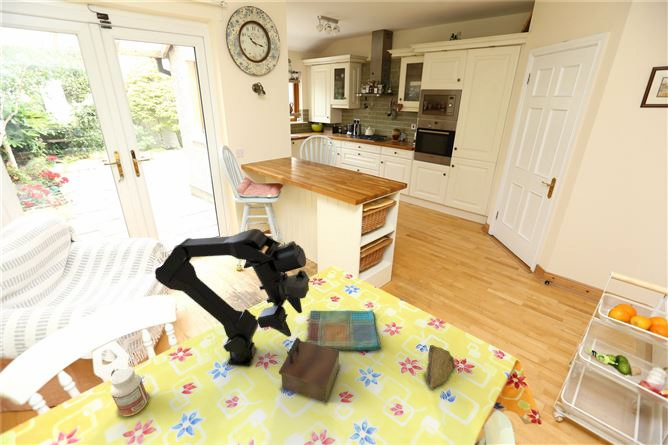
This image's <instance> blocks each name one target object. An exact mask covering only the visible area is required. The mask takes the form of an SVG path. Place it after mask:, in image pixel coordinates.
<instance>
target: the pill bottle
mask: <svg viewBox="0 0 668 445" xmlns="http://www.w3.org/2000/svg"><path fill="white" fill-rule="evenodd" d="M109 381H110V384H111V385H110V394H111V397H112V399H113V401H114V403H115V405H116V407H117V410H118V412H119V414H120V415H122V416H123V417H130V416H133V415H136V414H137V413H139V412H141V410H143V408H145V406H146V405H147V402H148V401H149V400H148V398H149V397H148V393H147V391H146V388H145V386H144V383H143V380H142V378H141V375H140V374H139V373H138V372H135V370H134V368H133V367H132V366H123V367H121V368H119V369H117V370H116V371H115V372H113V373H112V375H111V376H110V380H109Z"/></svg>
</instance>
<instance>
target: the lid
mask: <svg viewBox="0 0 668 445" xmlns="http://www.w3.org/2000/svg"><path fill="white" fill-rule="evenodd" d="M286 354H287V356H286V357H285V359H284V361H283V363H282V365H281V366H280V368H279V369H278V375H280V376H281V375H284V376H288V377H291V378H294V379H297V380H301V381H304V382H307V383H311V384H314V385H317V386H320V387H324V388H327V385H328V382H329V380H330V377H331V374H332V371H333V369H334V366H335V363H336V361H337V358H338V355H339V356H340V350H334V349H330V348H326V347H323V346H319V345H315V344H311V343H308V342H307V341H303V340H301V339H300V338H299V337H295V338H294V339H293V341H292V342H291V344H290V346H289V348H288V350H287V352H286Z"/></svg>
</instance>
